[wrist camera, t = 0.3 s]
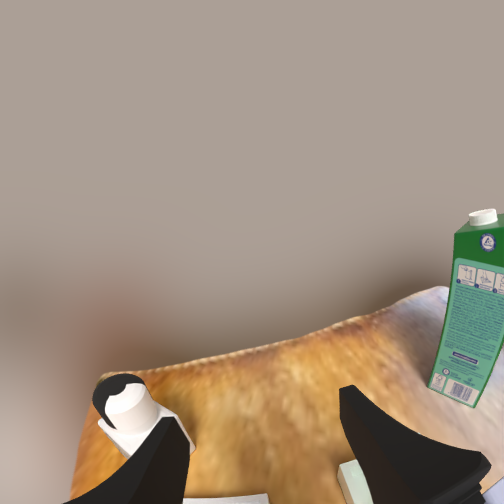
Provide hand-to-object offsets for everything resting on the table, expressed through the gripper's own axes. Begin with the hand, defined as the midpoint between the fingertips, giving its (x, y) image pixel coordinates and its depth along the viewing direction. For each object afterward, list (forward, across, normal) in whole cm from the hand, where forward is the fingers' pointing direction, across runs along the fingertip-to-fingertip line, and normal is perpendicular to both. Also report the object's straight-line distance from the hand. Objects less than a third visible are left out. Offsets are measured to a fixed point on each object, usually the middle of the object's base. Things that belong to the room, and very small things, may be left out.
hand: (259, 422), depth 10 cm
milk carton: (+14, -28, +22) cm, 38 cm away
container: (+13, +16, +20) cm, 29 cm away
